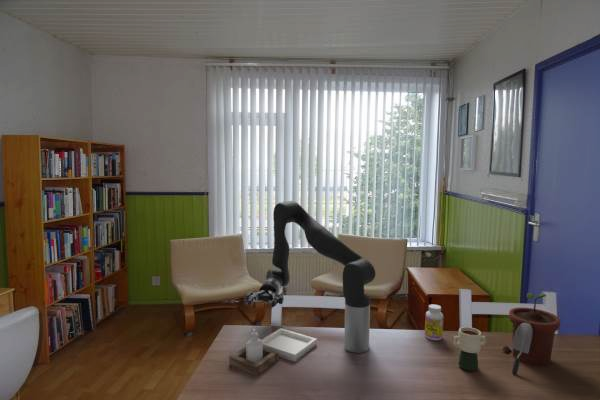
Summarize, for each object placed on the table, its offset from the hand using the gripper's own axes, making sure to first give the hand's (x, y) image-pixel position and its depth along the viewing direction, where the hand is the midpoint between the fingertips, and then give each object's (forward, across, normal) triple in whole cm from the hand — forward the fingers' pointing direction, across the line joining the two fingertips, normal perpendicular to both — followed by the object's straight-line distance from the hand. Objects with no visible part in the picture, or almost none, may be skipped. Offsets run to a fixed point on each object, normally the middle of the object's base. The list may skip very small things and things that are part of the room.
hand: (261, 304), depth 148 cm
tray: (-2, +10, +17) cm, 19 cm away
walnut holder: (+11, 0, +17) cm, 20 cm away
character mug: (+4, +74, +16) cm, 75 cm away
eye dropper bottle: (+11, +1, +17) cm, 20 cm away
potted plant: (-5, +95, +16) cm, 97 cm away
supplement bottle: (-18, +66, +16) cm, 71 cm away
